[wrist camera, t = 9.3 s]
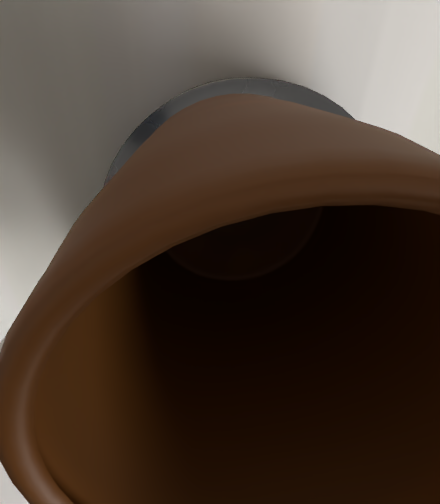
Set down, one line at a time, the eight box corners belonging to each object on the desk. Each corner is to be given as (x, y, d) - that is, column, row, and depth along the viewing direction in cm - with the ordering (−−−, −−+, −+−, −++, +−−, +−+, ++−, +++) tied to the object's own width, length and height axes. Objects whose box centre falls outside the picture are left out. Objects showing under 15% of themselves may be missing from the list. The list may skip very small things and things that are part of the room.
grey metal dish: (160, 332, 19) (153, 373, 16) (69, 118, 13) (36, 129, 11) (364, 289, 18) (391, 324, 16) (360, 42, 13) (402, 33, 10)
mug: (271, 365, 17) (341, 653, 8) (119, 348, 16) (25, 659, 7) (367, 117, 11) (858, 239, 3) (142, 66, 10) (-141, 13, 2)
